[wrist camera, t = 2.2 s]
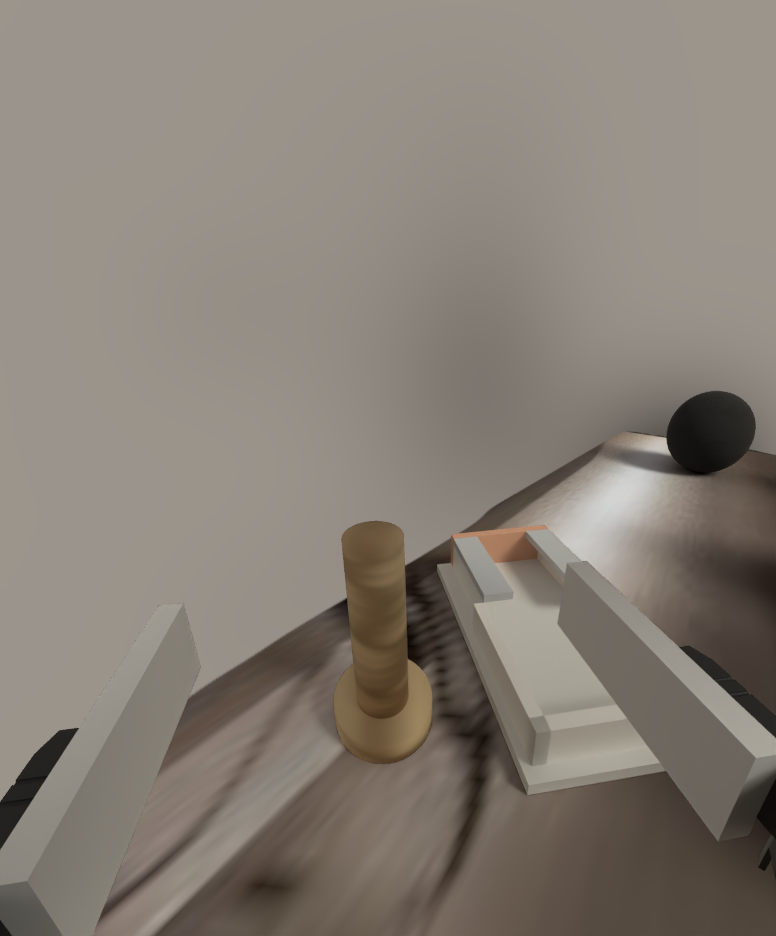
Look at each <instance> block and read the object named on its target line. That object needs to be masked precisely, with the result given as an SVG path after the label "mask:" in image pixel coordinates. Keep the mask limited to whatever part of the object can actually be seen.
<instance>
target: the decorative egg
mask: <svg viewBox="0 0 776 936" xmlns="http://www.w3.org/2000/svg"><path fill="white" fill-rule="evenodd" d="M755 425H756V424H755V418H754V414H753V412H752V410H751V408H750V407H749V405H748V404H747V403H746V402H745V401H744V400H743V399H741V398H740V397H738V396H736V395H734V394H731V393H728V392H722V391H711V392H705V393H702V394H699V395H696V396H694V397H692V398H690V399H689V400H688V401H686V402H685V403H683V404H682V405H681V406H680V407H679V408H678V409H677V411H676V412H675V413H674V415H673V416H672V418H671V420H670V423H669V426H668V429H667V445H668V449H669V451H670V453H671V455H672V457H673V458H674V459H675V460H676V461H677V462H678V463H679V464H680V465H682V466H683V467H685V468H687V469H689V470H692V471H696V472H715V471H719V470H722V469H725V468H727V467H729V466H731V465H733V464H734V463H736V462H737V461H738V460H739V459H740V458H741V457H742V456H743V455H744V454H745V453H746V452H747V450H748V449H749V447H750V445H751V444H752V441H753V439H754V435H755V429H756V427H755Z"/></svg>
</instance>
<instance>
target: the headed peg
mask: <svg viewBox="0 0 776 936" xmlns="http://www.w3.org/2000/svg"><path fill="white" fill-rule="evenodd" d="M342 550H343V560H344V571H345V581H346V591H347V601H348V611H349V622H350V632H351V642H352V652H353V663H354V664H353V665H351V666H350V667H349V668H348V669H347V670H346V671H345V672H344V673H343V675H342V676H341V678H340V679H339V681H338V683H337V685H336V688H335V692H334V699H333V704H334V713H335V721H336V727H337V732H338V735H339V737H340V739H341V741H342V743H343V744H344V746H345V747H346V748H347V749H348V750H349V751H350V752H351V753H352V754H353V755H355V756H356V757H358V758H360V759H362V760H364V761H367V762H370V763H375V764H388V763H394V762H398V761H400V760H403V759H405V758H407V757H408V756H410V755H411V754H413V753H414V752H415V751H416V750H417V749H418V748H419V747H420V746H421V745H422V744H423V742H424V741H425V739H426V738H427V736H428V733H429V731H430V728H431V724H432V690H431V686H430V683H429V680H428V678H427V676H426V675H425V673H424V672H423V671H422V670H421V668H420V667H419V666H417V665H416V664H415V663H413V662H412V661H410V660H408V656H407V623H406V591H405V558H404V534H403V532H402V530H401V529H400V528H399V527H398V526H396V525H394V524H392V523H388V522H382V521H369V522H363V523H360V524H356V525H354V526H352V527H350V528H348V529H347V530H346V531H345V532H344V533H343V535H342Z"/></svg>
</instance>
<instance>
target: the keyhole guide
mask: <svg viewBox="0 0 776 936" xmlns="http://www.w3.org/2000/svg"><path fill="white" fill-rule="evenodd" d="M572 562H581V560H580V559H579V558H578V557H577V556H576V555H575V554H574V553H573V552H572V551H571V550H570V549H569V548H568V547H566V546H565V545H564V544H563V543H562V542H561V541H560V540H559V539H558V538H557V537H556V536H555V535H554V534H553V533H552V532H551V531H550V530H549V529H548V528H547V527H546V526H545V525H539V526H530V527H520V528H510V529H500V530H490V531H480V532H470V533H461V534H452V535H451V563H446V564H437V572H438V575H439V577H440V580H441V582H442V585H443V587H444V590H445V592H446V595H447V597H448V600H449V602H450V604H451V607H452V609H453V612H454V614H455V617H456V619H457V622H458V624H459V627H460V629H461V632H462V634H463V637H464V639H465V642H466V644H467V647H468V649H469V652H470V654H471V657H472V659H473V662H474V664H475V667H476V669H477V671H478V674H479V676H480V679H481V681H482V684H483V686H484V689H485V691H486V694H487V696H488V699H489V701H490V704H491V706H492V709H493V711H494V714H495V716H496V719H497V721H498V724H499V726H500V729H501V731H502V734H503V736H504V739H505V741H506V743H507V746H508V748H509V751H510V753H511V756H512V758H513V761H514V763H515V766H516V768H517V771H518V773H519V776H520V778H521V781H522V783H523V786H524V788H525V791H526V793H527V795H532V794H537V793H543V792H549V791H555V790H560V789H566V788H572V787H577V786H583V785H589V784H595V783H600V782H606V781H612V780H617V779H623V778H629V777H635V776H640V775H646V774H652V773H658V772H663V771H666V770H665V769H664V768H663V766H662V765H661V764H660V762H659V761H658V760H657V758H656V757H655V756H654V754H653V753H652V751H651V750H650V749H649V747H648V746H647V745H646V743H645V742H644V741H643V739H642V738H641V737H640V735H639V734H638V733H637V731H636V730H635V728H634V727H633V726H632V724H631V723H630V722H629V720H628V719H627V718H626V716H625V715H624V714H623V712H622V711H621V709H620V708H619V707H618V705H617V704H616V703H615V701H614V700H613V699H612V697H611V696H610V695H609V693H608V692H607V691H606V689H605V688H604V686H603V685H602V684H601V682H600V681H599V680H598V678H597V677H596V676H595V674H594V673H593V672H592V670H591V669H590V668H589V666H588V665H587V663H586V662H585V661H584V659H583V658H582V657H581V655H580V654H579V653H578V651H577V650H576V649H575V647H574V646H573V645H572V643H571V642H570V640H569V639H568V638H567V636H566V635H565V634H564V632H563V631H562V630H561V628H560V627H559V626H558V624H557V623H558V617H559V610H560V604H561V597H562V591H563V584H564V578H565V571H566V565H567V563H572Z"/></svg>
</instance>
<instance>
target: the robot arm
mask: <svg viewBox="0 0 776 936" xmlns="http://www.w3.org/2000/svg"><path fill="white" fill-rule="evenodd" d="M557 624H558V626H559V627H560V628H561V630H562V631H563V632H564V634H565V635H566V636H567V638H568V639H569V640H570V642H571V643H572V645H573V646H574V647H575V649H576V650H577V651H578V653H579V654H580V655H581V657H582V658H583V659H584V661H585V662H586V663H587V665H588V666H589V668H590V669H591V670H592V672H593V673H594V674H595V676H596V677H597V678H598V680H599V681H600V682H601V684H602V685H603V686H604V688H605V689H606V691H607V692H608V693H609V695H610V696H611V697H612V699H613V700H614V701H615V703H616V704H617V705H618V707H619V708H620V709H621V711H622V712H623V714H624V715H625V716H626V718H627V719H628V720H629V722H630V723H631V724H632V726H633V727H634V728H635V730H636V731H637V733H638V734H639V735H640V737H641V738H642V739H643V741H644V742H645V743H646V745H647V746H648V747H649V749H650V750H651V751H652V753H653V754H654V756H655V757H656V758H657V760H658V761H659V762H660V764H661V765H662V766H663V768H664V769H665V770H666V772H667V773H668V774H669V776H670V777H671V779H672V780H673V781H674V783H675V784H676V785H677V787H678V788H679V789H680V791H681V792H682V793H683V795H684V796H685V797H686V799H687V800H688V802H689V803H690V804H691V806H692V807H693V808H694V810H695V811H696V812H697V814H698V815H699V816H700V818H701V819H702V821H703V822H704V823H705V825H706V826H707V827H708V829H709V830H710V831H711V833H712V834H713V835H714V837H715V838H716V839H717V841H722V840H727V839H733V838H738V837H743V836H748V835H749V834H750V832H751V830H752V828H753V826H754V824H755V822H756V820H757V818H758V819H759V820H760V822H761V823H762V824H763V825H764V826H765V827H766V829H767V830H768V831H769V832H770V833H771V835H770V837H769V838H768V840H767V842H766V844H765V846H764V848H763V850H762V852H761V854H760V855H759V858H758V868H760V869H762V870H764V871H765V870H766V868H767V866H768V864H769V862H770V861H771V860H772V864H773V869H774V874H775V878H776V716H775V715H774V714H773V713H772V712H771V711H769V710H768V709H767V708H766V707H765V706H764V705H763V704H762V703H760V702H759V701H758V700H757V699H756V698H755V697H754V696H753V695H749V694H748V693H747V690H746V689H745V688H744V687H742V686H741V685H740V684H739V683H738V682H737V681H736V680H732V678H731V676H730V675H729V674H728V673H727V672H726V671H724V670H723V669H722V668H721V667H720V666H719V665H718V664H717V663H715V662H714V661H713V660H712V659H710V658H709V657H707V656H705V655H704V654H702V653H700V652H699V651H697V650H695V649H694V648H692V647H690V646H684V647H678V646H677V645H676V644H675V643H674V642H673V641H672V640H671V639H669V638H668V637H667V636H666V635H665V634H664V633H663V632H662V631H661V630H660V629H659V628H658V627H657V626H656V625H655V624H653V623H652V622H651V621H650V620H649V619H648V618H647V617H646V616H645V615H644V614H643V613H642V612H641V611H640V610H639V609H638V608H636V607H635V606H634V605H633V604H632V603H631V602H630V601H629V600H628V599H627V598H626V597H625V596H624V595H623V594H622V593H620V592H619V591H618V590H617V589H616V588H615V587H614V586H613V585H612V584H611V583H610V582H609V581H608V580H607V579H606V578H605V577H603V576H602V575H601V574H600V573H599V572H598V571H597V570H596V569H595V568H594V567H593V566H592V565H591V564H590V563H589V562H587V561H581V562H572V563H567V565H566V571H565V578H564V584H563V591H562V597H561V604H560V610H559V617H558V623H557ZM200 668H201V666H200V662H199V658H198V654H197V651H196V647H195V643H194V640H193V637H192V632H191V629H190V625H189V621H188V618H187V614H186V610H185V607H184V603H177V604H168V605H159V606H158V607H157V609H156V610H155V612H154V613H153V615H152V616H151V618H150V620H149V621H148V623H147V624H146V626H145V627H144V629H143V630H142V632H141V633H140V635H139V636H138V638H137V640H136V641H135V643H134V644H133V646H132V647H131V649H130V650H129V652H128V653H127V655H126V657H125V658H124V660H123V661H122V663H121V664H120V666H119V668H118V669H117V670H116V672H115V674H114V675H113V677H112V678H111V680H110V681H109V683H108V684H107V686H106V687H105V689H104V691H103V692H102V694H101V695H100V697H99V698H98V700H97V701H96V703H95V704H94V706H93V708H92V709H91V711H90V712H89V714H88V715H87V717H86V718H85V720H84V722H83V723H82V724H81V726H80V728H74V729H66V730H60V731H58V732H57V733H56V734H55V735H54V736H53V737H52V738H51V739H50V740H49V741H48V742H47V743H46V744H44V746H42V747H41V748H40V749H39V750H38V751H37V752H36V753H35V754H34V756H33V757H32V758H31V760H30V761H29V762H28V764H27V765H26V767H25V768H24V769H23V771H22V772H21V774H20V775H19V776H18V778H17V779H16V783H15V785H12V786H11V788H10V789H9V790H8V792H7V793H6V795H5V796H4V797H3V799H2V800H1V802H0V936H92V935H93V932H94V930H95V928H96V925H97V923H98V920H99V918H100V915H101V913H102V910H103V908H104V905H105V903H106V900H107V898H108V895H109V893H110V890H111V888H112V886H113V883H114V881H115V878H116V876H117V873H118V871H119V868H120V866H121V863H122V861H123V858H124V856H125V853H126V851H127V849H128V846H129V844H130V841H131V839H132V836H133V834H134V831H135V829H136V826H137V824H138V821H139V819H140V816H141V814H142V811H143V809H144V807H145V804H146V802H147V799H148V797H149V794H150V792H151V789H152V787H153V784H154V782H155V779H156V777H157V774H158V772H159V769H160V767H161V765H162V762H163V760H164V757H165V755H166V752H167V750H168V747H169V745H170V742H171V740H172V737H173V735H174V732H175V730H176V727H177V725H178V723H179V720H180V718H181V715H182V713H183V710H184V708H185V705H186V703H187V700H188V698H189V695H190V693H191V690H192V688H193V686H194V683H195V681H196V678H197V676H198V673H199V670H200Z"/></svg>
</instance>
